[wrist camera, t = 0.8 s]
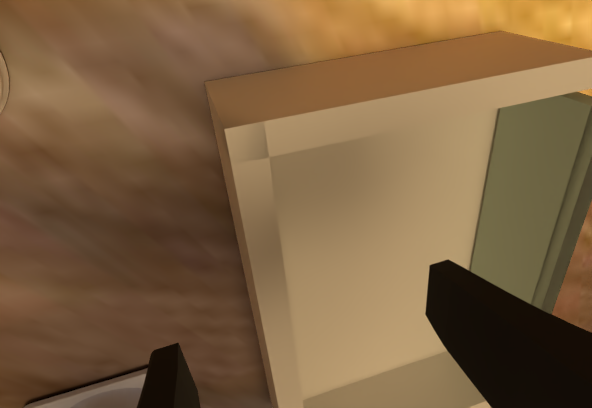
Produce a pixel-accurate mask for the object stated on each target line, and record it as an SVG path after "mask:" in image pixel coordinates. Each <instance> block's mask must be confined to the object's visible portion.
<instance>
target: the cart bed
mask: <svg viewBox="0 0 592 408" xmlns="http://www.w3.org/2000/svg"><path fill="white" fill-rule="evenodd" d="M204 84H205V88H206V93H207V98H208V103H209V107H210V112H211V117H212V122H213V127H214V131H215V136H216V141H217V146H218V150H219V155H220V160H221V165H222V170H223V174H224V179H225V184H226V189H227V193H228V198H229V203H230V208H231V213H232V217H233V222H234V227H235V232H236V236H237V241H238V246H239V251H240V256H241V260H242V265H243V270H244V275H245V279H246V284H247V289H248V294H249V299H250V303H251V308H252V313H253V318H254V322H255V327H256V332H257V337H258V341H259V346H260V351H261V356H262V361H263V365H264V370H265V375H266V380H267V384H268V389H269V394H270V399H271V403H272V407H273V408H491V406H490V405H489V404H488V403H487V401H486V400H485V399H484V397H483V396H482V395H481V393H480V392H479V391H478V390H477V388H476V387H475V386H474V384H473V383H472V382H471V381H470V379H469V378H468V377H467V375H466V374H465V373H464V372H463V370H462V369H461V368H460V366H459V365H458V364H457V362H456V361H455V360H454V359H453V357H452V356H451V355H450V353H449V352H448V351H447V349H446V348H445V347H444V345H443V344H442V342H441V340H440V339H439V337H438V335H437V334H436V332H435V331H434V329H433V327H432V325H431V324H430V322H429V320H428V318H427V317H426V315H425V312H426V300H427V289H428V277H429V266H430V265H431V264H435V263H438V262H441V261H444V260H448V259H449V260H451V261H452V262H454V263H456V264H458V265H460V266H462V267H464V268H465V269H467V270H469V271H471V265H472V260H473V254H474V249H475V243H476V238H477V233H478V227H479V222H480V216H481V211H482V205H483V200H484V195H485V189H486V184H487V178H488V173H489V167H490V162H491V157H492V151H493V146H494V140H495V135H496V129H497V124H498V119H499V113H500V108H502V107H507V106H512V105H516V104H521V103H526V102H531V101H535V100H540V99H545V98H549V97H554V96H559V95H563V94H568V93H573V92H577V91H582V90H587V89H591V88H592V51H591V50H587V49H582V48H577V47H573V46H568V45H564V44H559V43H554V42H550V41H545V40H541V39H536V38H531V37H527V36H522V35H518V34H513V33H508V32H504V31H498V32H493V33H487V34H481V35H475V36H469V37H463V38H457V39H452V40H446V41H440V42H434V43H428V44H422V45H416V46H411V47H405V48H399V49H393V50H387V51H381V52H375V53H369V54H364V55H358V56H352V57H346V58H340V59H334V60H328V61H323V62H317V63H311V64H305V65H299V66H293V67H287V68H282V69H276V70H270V71H264V72H258V73H252V74H246V75H241V76H235V77H229V78H223V79H217V80H211V81H205V82H204Z"/></svg>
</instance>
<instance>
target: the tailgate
mask: <svg viewBox="0 0 592 408" xmlns="http://www.w3.org/2000/svg"><path fill="white" fill-rule="evenodd" d="M591 200H592V97H591V96H588V95H585V94H582V93H579V92H573V93H568V94H563V95H559V96H554V97H549V98H545V99H540V100H535V101H531V102H526V103H521V104H516V105H512V106H507V107H502V108H500V113H499V119H498V124H497V129H496V135H495V140H494V146H493V151H492V157H491V162H490V167H489V173H488V178H487V184H486V189H485V195H484V200H483V205H482V211H481V216H480V222H479V227H478V233H477V238H476V243H475V249H474V254H473V260H472V265H471V272H472V273H474V274H476V275H478V276H480V277H481V278H483V279H485V280H487V281H489V282H490V283H492V284H494V285H496V286H498V287H499V288H501V289H503V290H505V291H507V292H509V293H510V294H512V295H514V296H516V297H518V298H520V299H522V300H524V301H526V302H527V303H529V304H531V305H533V306H535V307H537V308H539V309H541V310H543V311H545V312H547V313H549V314H552V311H553V308H554V305H555V303H556V300H557V297H558V294H559V291H560V288H561V285H562V283H563V280H564V277H565V274H566V271H567V268H568V266H569V263H570V260H571V257H572V254H573V251H574V248H575V246H576V243H577V240H578V237H579V234H580V231H581V229H582V226H583V223H584V220H585V217H586V214H587V211H588V209H589V206H590V203H591Z"/></svg>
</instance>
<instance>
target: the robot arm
mask: <svg viewBox="0 0 592 408" xmlns="http://www.w3.org/2000/svg"><path fill="white" fill-rule="evenodd" d="M425 315H426V317H427V318H428V320H429V322H430V324H431V325H432V327H433V329H434V331H435V332H436V334H437V335H438V337H439V339H440V340H441V342H442V344H443V345H444V347H445V348H446V349H447V351H448V352H449V353H450V355H451V356H452V357H453V359H454V360H455V361H456V362H457V364H458V365H459V366H460V368H461V369H462V370H463V372H464V373H465V374H466V375H467V377H468V378H469V379H470V381H471V382H472V383H473V384H474V386H475V387H476V388H477V390H478V391H479V392H480V393H481V395H482V396H483V397H484V399H485V400H486V401H487V403H488V404H489V405H490V406H491V408H592V333H591V332H589V331H586V330H584V329H582V328H579V327H577V326H575V325H573V324H570V323H568V322H566V321H564V320H562V319H560V318H558V317H556V316H554V315H552V314H549V313H547V312H545V311H543V310H541V309H539V308H537V307H535V306H533V305H531V304H529V303H527V302H526V301H524V300H522V299H520V298H518V297H516V296H514V295H512V294H510V293H509V292H507V291H505V290H503V289H501V288H499V287H498V286H496V285H494V284H492V283H490V282H489V281H487V280H485V279H483V278H481V277H480V276H478V275H476V274H474V273H472V272H471V271H469V270H467V269H465V268H464V267H462V266H460V265H458V264H456V263H454V262H452V261H451V260H449V259H448V260H444V261H441V262H438V263H435V264H431V265H430V266H429V277H428V289H427V300H426V312H425ZM24 408H200V403H199V397H198V391H197V388H196V386H195V383H194V381H193V378H192V376H191V373H190V371H189V368H188V366H187V363H186V361H185V358H184V356H183V353H182V351H181V348H180V346H179V343H176V344H173V345H169V346H166V347H163V348H160V349H156V350H154V351H153V352H152V354H151V356H150V361H149V365H148V368H147V369H143V370H140V371H137V372H133V373H130V374H127V375H124V376H120V377H117V378H114V379H110V380H107V381H104V382H100V383H97V384H94V385H90V386H87V387H84V388H80V389H77V390H74V391H70V392H67V393H64V394H60V395H57V396H54V397H50V398H47V399H44V400H40V401H37V402H34V403H31V404H28V405H26V406H25V407H24Z"/></svg>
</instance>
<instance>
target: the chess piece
mask: <svg viewBox="0 0 592 408" xmlns="http://www.w3.org/2000/svg"><path fill="white" fill-rule="evenodd" d="M8 94H9V76H8V71H7V67H6V64H5V61H4V59H3V56H2V54H1V52H0V113H1V112H2V110H3V109H4V106H5V104H6V102H7V98H8Z"/></svg>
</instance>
